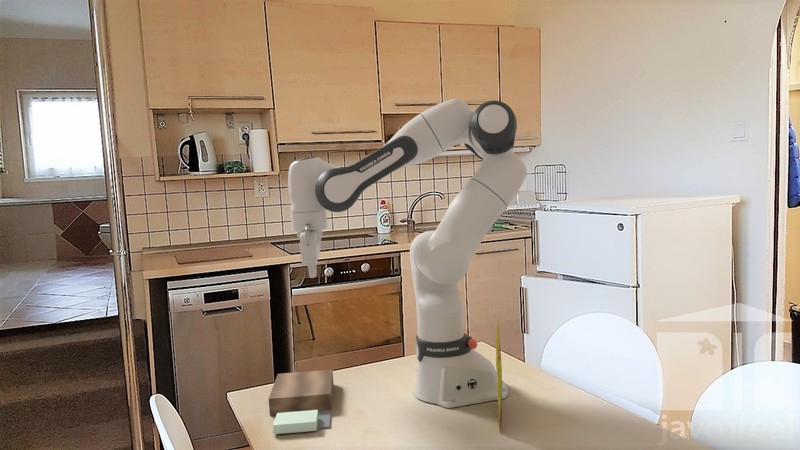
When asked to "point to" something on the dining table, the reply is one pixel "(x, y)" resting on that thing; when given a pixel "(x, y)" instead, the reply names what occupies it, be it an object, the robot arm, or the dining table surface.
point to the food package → (499, 374)
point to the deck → (302, 392)
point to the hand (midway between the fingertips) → (313, 276)
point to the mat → (323, 419)
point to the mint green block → (295, 422)
